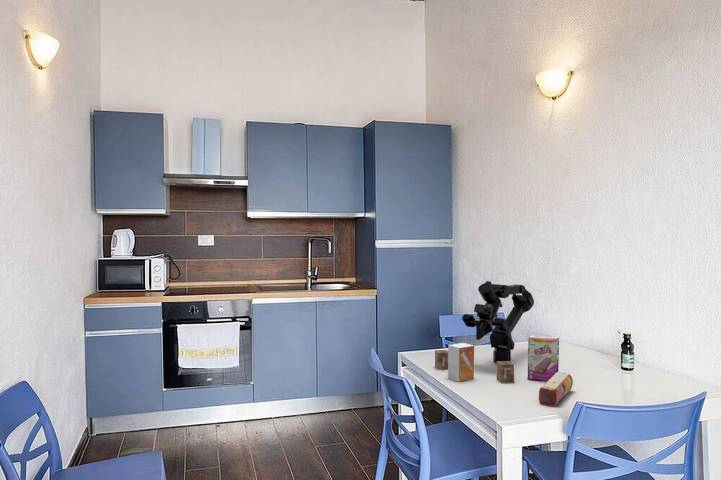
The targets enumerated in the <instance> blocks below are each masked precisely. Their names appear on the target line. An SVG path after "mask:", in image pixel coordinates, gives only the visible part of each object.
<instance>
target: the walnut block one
mask: <svg viewBox="0 0 721 480" xmlns="http://www.w3.org/2000/svg"><path fill="white" fill-rule="evenodd" d="M434 367H435V369H436V368H437V369H436V370H437V371H444V370H446V371H448V349H435V350H434Z"/></svg>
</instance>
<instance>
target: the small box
mask: <svg viewBox="0 0 721 480" xmlns="http://www.w3.org/2000/svg"><path fill="white" fill-rule="evenodd" d="M447 351H448V370H447V379H449V380H451V381H455V382H458V383H461V382H464V381H470V380H474V378H475V345H473V344H469V343H466V342H459V343H455V344H454V343H453V344H448V347H447Z"/></svg>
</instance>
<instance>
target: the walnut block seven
mask: <svg viewBox="0 0 721 480" xmlns="http://www.w3.org/2000/svg"><path fill="white" fill-rule="evenodd" d="M496 380H497V381H498V382H499V383H500V384H514V383H515V364H514V363H513V362H512V361H511V362H510V361H497V363H496Z"/></svg>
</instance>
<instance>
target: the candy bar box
mask: <svg viewBox="0 0 721 480" xmlns="http://www.w3.org/2000/svg"><path fill="white" fill-rule="evenodd" d="M527 345H528V346H527V349H528V350H527V356H528V357H527V380H531V381H538V382H547V381H548V380H549V379H550V378H551V377H552V376H553V375H554V374H555V373H557V372H559V366H560V365H559V364H560V363H559V361H560V358H559V356H560V353H559V352H560V338H559V337H557V336H556V337H555V336H546V335H545V336H544V335H530V334H529V335H528V344H527Z"/></svg>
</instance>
